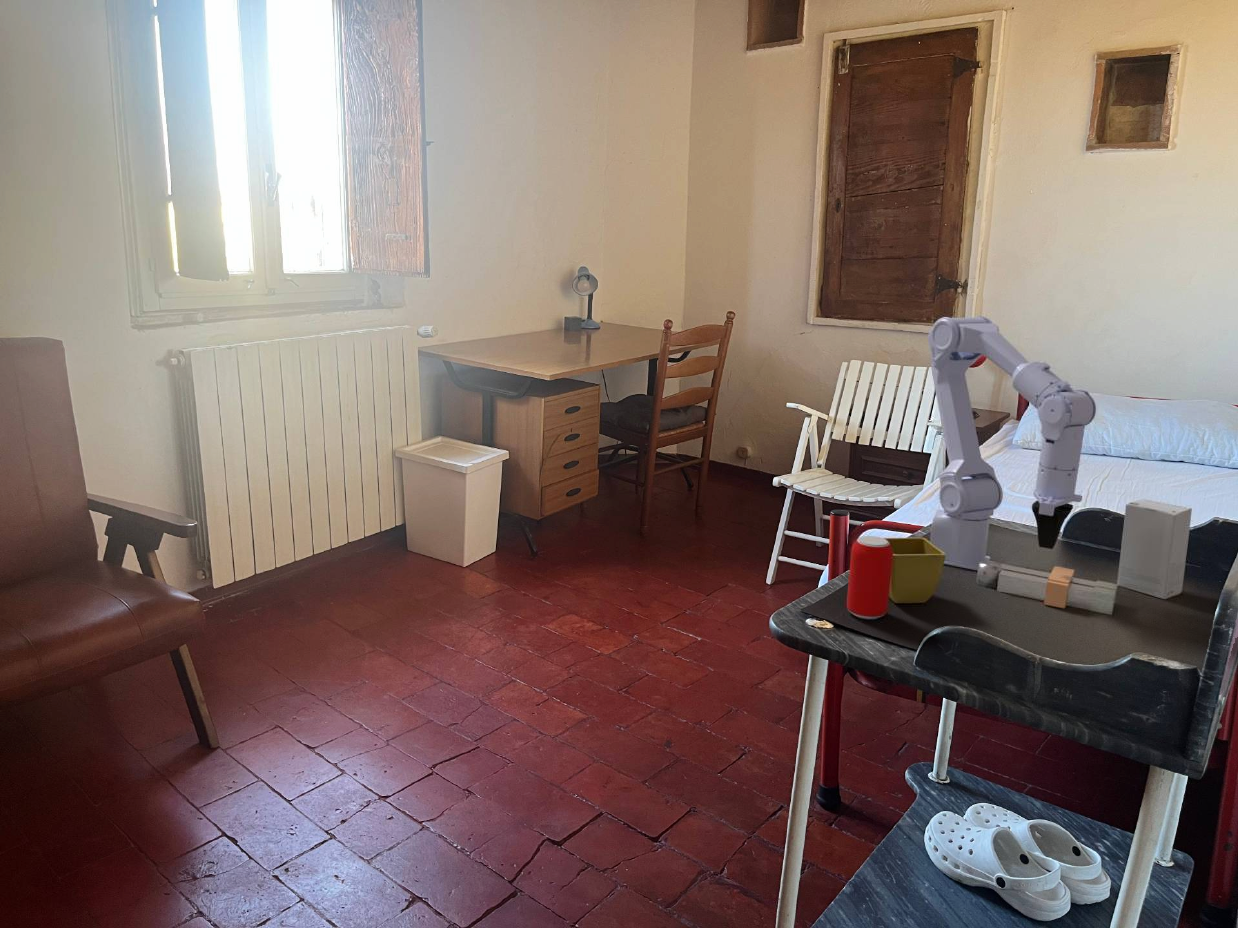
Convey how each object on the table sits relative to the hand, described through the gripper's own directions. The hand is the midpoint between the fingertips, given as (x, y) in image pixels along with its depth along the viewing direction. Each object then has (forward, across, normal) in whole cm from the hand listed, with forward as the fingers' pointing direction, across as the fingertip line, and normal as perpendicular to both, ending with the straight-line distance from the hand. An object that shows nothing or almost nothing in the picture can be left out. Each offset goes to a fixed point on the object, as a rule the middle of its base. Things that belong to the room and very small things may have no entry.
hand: (1046, 546), depth 148 cm
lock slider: (+8, -1, -3) cm, 9 cm away
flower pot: (+9, -15, +18) cm, 25 cm away
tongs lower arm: (+8, -1, -2) cm, 9 cm away
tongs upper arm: (+8, +1, 0) cm, 8 cm away
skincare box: (+8, +14, -15) cm, 22 cm away
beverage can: (+9, -25, +21) cm, 34 cm away
